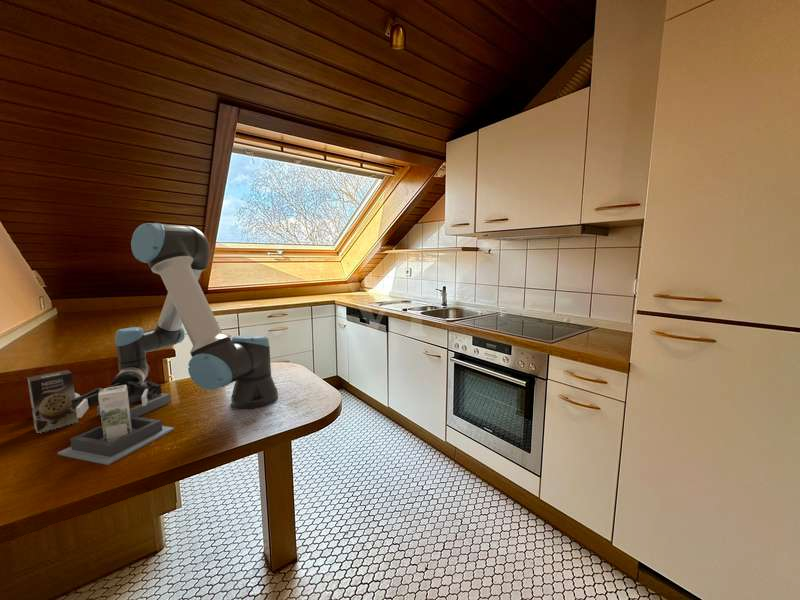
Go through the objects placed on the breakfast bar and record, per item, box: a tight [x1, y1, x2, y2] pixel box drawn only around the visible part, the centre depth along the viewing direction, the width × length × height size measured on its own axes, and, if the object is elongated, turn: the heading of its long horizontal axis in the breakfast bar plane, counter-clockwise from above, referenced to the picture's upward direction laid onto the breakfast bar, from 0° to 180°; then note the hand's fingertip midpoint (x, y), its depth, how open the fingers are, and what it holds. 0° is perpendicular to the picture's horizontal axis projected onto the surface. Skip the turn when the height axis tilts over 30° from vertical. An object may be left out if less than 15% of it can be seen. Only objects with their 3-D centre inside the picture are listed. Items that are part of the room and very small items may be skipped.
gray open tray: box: [96, 392, 172, 417], centre depth 117 cm, size 14×14×3 cm
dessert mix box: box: [27, 369, 80, 434], centre depth 105 cm, size 9×6×16 cm
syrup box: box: [98, 385, 132, 442], centre depth 95 cm, size 6×6×14 cm
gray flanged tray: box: [57, 416, 175, 466], centre depth 96 cm, size 18×18×4 cm
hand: (112, 406), depth 92 cm, fingers open, 13 cm apart
